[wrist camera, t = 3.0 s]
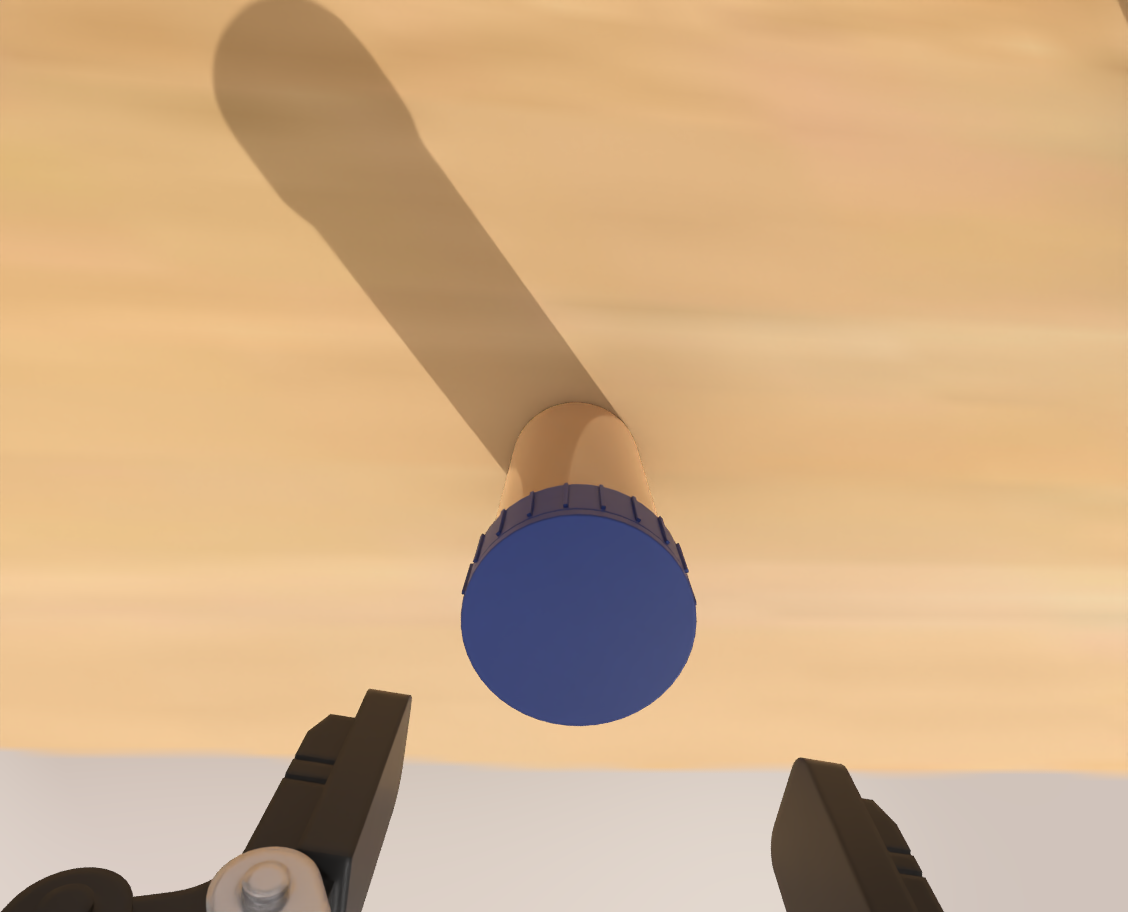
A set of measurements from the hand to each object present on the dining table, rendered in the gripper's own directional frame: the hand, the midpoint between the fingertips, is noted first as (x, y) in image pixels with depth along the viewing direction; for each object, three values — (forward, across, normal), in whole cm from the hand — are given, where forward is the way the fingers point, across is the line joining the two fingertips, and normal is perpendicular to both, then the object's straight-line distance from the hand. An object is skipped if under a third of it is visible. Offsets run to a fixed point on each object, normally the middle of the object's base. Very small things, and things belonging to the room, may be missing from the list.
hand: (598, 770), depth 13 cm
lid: (+6, 0, 0) cm, 6 cm away
